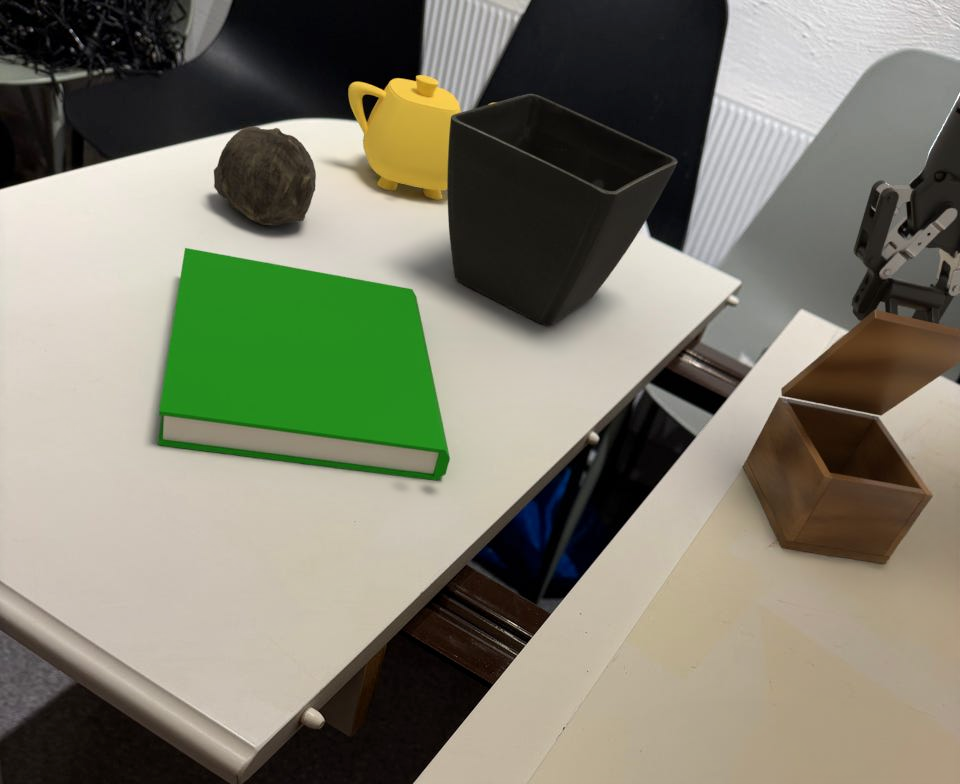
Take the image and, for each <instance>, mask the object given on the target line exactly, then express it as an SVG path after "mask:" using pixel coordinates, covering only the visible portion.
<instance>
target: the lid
mask: <svg viewBox="0 0 960 784" xmlns="http://www.w3.org/2000/svg"><path fill="white" fill-rule="evenodd" d="M888 280H889V281H890V282H891V283H890V285H889V287H888V288H887V290H886V292H885V294H884V296H883V298H882V299H881V301H880V303H883V304H884V311H883V310H879V309H876V310H874V311H873V312H871V313H870V314H869V315H868V316H867V317H866V318H864V319H863V320H862V321H859V322H858V323H857V324H856V325H855V326H854V327H852V328H851V329H850V330H849V331H848V332H846V333H845V334H843V335H844V336H843V335H842V336H843V337H842V338H841V339H839V338H838V339H839V340H838V339H837V340H838V341H837V342H836V343H835V344H834V345H832V344H831V345H832V346H830V347H828V348H827V349H826V350H825V351H824V352H823V353H821V354H820V355H819V356H818V357H817V358H816V359H814V360H813V361H812V362H811V363H809V364H808V365H807V366H806V367H805V368H803V370H802V371H800V372H799V373H797V375H796V376H794V377H793V378H792V379H791V380H789V381H788V382H787V383H786V384H784V386H782V387H781V389H780V391H781V392H780V393H781V396H780V397H783V398H788V399H793V400H798V401H803V402H808V403H813V404H818V405H823V406H828V407H833V408H838V409H844V410H849V411H854V412H859V413H864V414H869V415H874V416H880V417H881V416H883V415H885V414H886V413H888V412H889V411H890V410H892V409H893V408H895V407H896V406H898V405H899V404H901V403H902V402H904V401H905V400H907V399H908V398H910V397H911V396H912V395H914V394H916V393H917V392H919V391H921V389H923V388H925V387H926V386H928V385H929V384H931V383H932V382H934V381H935V380H937V378H939V377H941V376H942V375H943V374H946V373H947V372H948V371H949V370H951V369H953V368H954V367H955V366H957V365H959V364H960V328H957V327H954V326H953V327H952V326H949V325H944V324H940V321H939V310H940V308H941V307H942V305H943V303H944V299H945V293H944V291H943V290H942V289H938V288H934V287H930V285H925V284H922V283H916V282H913V281H910V280H909V281H908V280H905V279H901V278H896V277H893V276H892V277H890V278H889V279H888ZM899 307H901V308H903V309H904V308H905V309H909V310H914V311H916V310H917V311H922V312H926V313H927V321H922V320H918V319H914V318H912V317H910V316H909V317H908V316H904V315H900V314H899Z"/></svg>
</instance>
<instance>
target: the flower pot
mask: <svg viewBox="0 0 960 784" xmlns="http://www.w3.org/2000/svg"><path fill="white" fill-rule="evenodd" d="M492 103H493V104H491V103H488V104H485V105H483V106H479V107H476V108H472V109H469V110H468V109H467V110H464V111H461V113H457V114H454V115H452V116H451V121H450V132H449V149H448V177H447V190H446V191H447V192H446V193H447V195H446V196H447V217H448V218H447V219H448V232H449V233H448V234H449V244H450V252H451V262H452V268H453V275H454V278H455V279H456V280H457V282H460V283H461V284H464V285H466V286H467V287H469V288H471V289H473V290H475V291H477V292H479V293H481V294H483V295H484V296H486V297H488V298H490V299H492V300H494V301H496V302H498V303H500V304H502V305H504V306H505V307H507V308H510V309H511V310H514V311H515V312H517V313H519V314H521V315H523V316H524V317H527V318H529V319H531V320H533V321H535V322H537V323H539V324H540V325H545V326H551V325H553V324H555V323H557V322H558V321H559V320H561V319H562V318H564V317H565V316H567V315H568V314H570V313H572V312H573V311H575V310H576V309H577V308H579V307H580V306H582V305H583V304H585V303H586V302H589V301H590V300H591V299H593V297H594V296H595V295H596V294H597V293H598V291H599V290H600V289H601V287H602V286H603V285H604V284H605V282H606V281H607V279H608V278H609V277H610V275H611V274H612V272H613V271H614V270H615V268H616V267H617V266H618V264H619V263H620V261H621V260H622V258H623V257H624V256H625V254H626V253H627V251H628V250H629V248H630V247H631V245H632V243H634V240H635V239H636V237H637V236H638V234H639V232H640V231H641V229H642V228H643V226H644V224H645V223H646V221H647V220H648V218H649V216H650V214H651V212H652V211H653V209H654V208H655V206H656V204H657V202H658V200H659V199H660V197H661V195H662V193H663V191H664V190H665V187H666V186H667V184H668V182H669V180H670V178H671V177H672V175H673V173H674V171H675V168H676V167H677V164H678V160H677V158H675V157H674V156H673V155H670V154H668V153H665V152H663V151H662V150H660V149H657V148H655V147H653V146H651V145H648V144H646V143H644V142H642V141H640V140H638V139H635V138H633V137H632V136H629V135H627V134H625V133H623V132H621V131H618V130H616V129H614V128H611V127H610V126H607V125H605V124H603V123H601V122H598V121H596V120H594V119H592V118H590V117H587V116H585V115H583V114H581V113H578V112H577V111H574V110H572V109H570V108H567V107H566V106H563V105H561V104H558V103H557V102H554V101H552V100H550V99H548V98H545V97H543V96H542V95H541V96H540V95H538V94H534V93H527V94H522V95H518V96H514V97H511V98H508V99H504V100H501V101H497V103H495V102H492Z"/></svg>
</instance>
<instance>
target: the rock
mask: <svg viewBox="0 0 960 784" xmlns="http://www.w3.org/2000/svg"><path fill="white" fill-rule="evenodd" d="M315 168H316V167H315V164H314V160H313V159H312V157H311V154H310V153H309V151H308V150H307V149H306V147H305V146H304V145H303V143H302V142H301V141H299V139H298V138H296V137H295V136H293V135H291V134H286V133H283V132H282V131H281V129H280V128H278V127H274V128H271V129H265V128H260V127H258V126H254V125H253V126H248V127H244V128H242V129H240V130H239V131H238V132H236V133H235V134H234V135H233V136H232V137H231V138H230V139H229V140H228V141H227V142H226V144H225V146H224V148H223V149H222V151H221V153H220V156H219V159H218V162H217V166H216V167H214V169H213V179H214V180H213V182H214V183H213V188H214V189H215V190H216V192H217V193H218V194H219V195H220V196H221V197H222V198H223V199H224V200H226V202H227V203H228V204H229V205H230V206H231V207H232V208H233V209H234V210H236V211H238V212H240V213H241V214H242V215H244V216H245V217H247V218H248V219H249V220H251V221H253V222H255V223H257V224H260V225H263V226H273V227H279V226H282V225H283V224H286V223H293V222H303V221H304V220H305V219H306V214H307V213H308V211H309V209H310V207H311V204H312V200H313V197H314V193H315V191H316V179H317V173H316V169H315Z"/></svg>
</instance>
